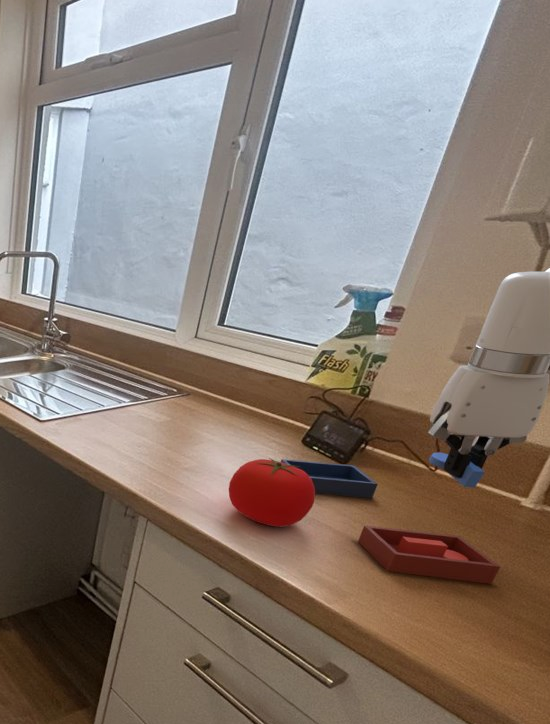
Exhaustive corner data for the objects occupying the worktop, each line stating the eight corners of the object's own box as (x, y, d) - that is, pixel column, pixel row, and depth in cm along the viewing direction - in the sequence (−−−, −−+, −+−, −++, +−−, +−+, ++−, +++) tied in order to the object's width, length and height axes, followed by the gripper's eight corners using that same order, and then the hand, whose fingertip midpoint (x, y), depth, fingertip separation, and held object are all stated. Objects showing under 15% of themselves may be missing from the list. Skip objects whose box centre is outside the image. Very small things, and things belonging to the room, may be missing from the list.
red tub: (451, 552, 81) (459, 535, 80) (491, 584, 74) (500, 566, 73) (357, 541, 84) (364, 525, 82) (388, 571, 77) (395, 554, 76)
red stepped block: (404, 562, 78) (412, 545, 77) (391, 549, 81) (398, 533, 80) (471, 570, 76) (480, 553, 75) (455, 557, 79) (463, 540, 78)
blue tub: (348, 479, 103) (353, 465, 102) (372, 498, 96) (378, 483, 95) (277, 472, 106) (281, 459, 104) (295, 490, 99) (299, 476, 98)
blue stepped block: (482, 488, 80) (492, 472, 79) (456, 486, 81) (466, 470, 80) (447, 459, 87) (456, 444, 85) (423, 457, 88) (432, 442, 86)
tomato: (312, 519, 90) (332, 464, 86) (289, 546, 83) (310, 487, 79) (238, 494, 98) (253, 442, 94) (211, 516, 91) (226, 462, 87)
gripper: (552, 356, 77) (500, 468, 84) (425, 353, 81) (385, 460, 88) (603, 370, 71) (542, 490, 77) (462, 366, 74) (416, 481, 81)
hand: (459, 474), depth 83 cm, fingers closed on blue stepped block, 1 cm apart
